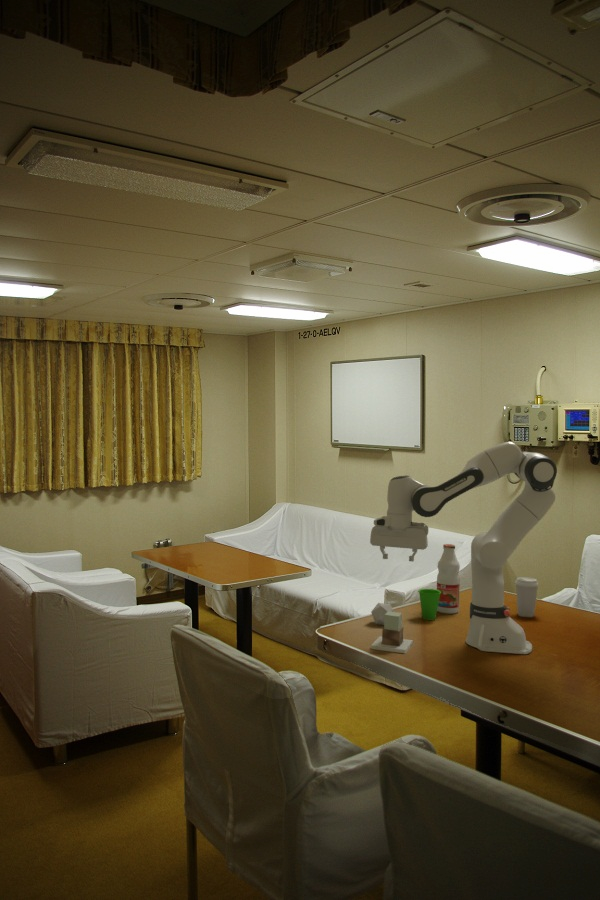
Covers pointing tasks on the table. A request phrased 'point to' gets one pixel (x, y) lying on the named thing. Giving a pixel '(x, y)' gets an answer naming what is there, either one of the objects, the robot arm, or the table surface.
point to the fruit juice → (448, 581)
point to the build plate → (392, 646)
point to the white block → (380, 612)
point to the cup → (429, 602)
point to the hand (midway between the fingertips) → (398, 560)
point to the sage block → (393, 621)
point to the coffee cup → (526, 596)
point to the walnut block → (392, 637)
